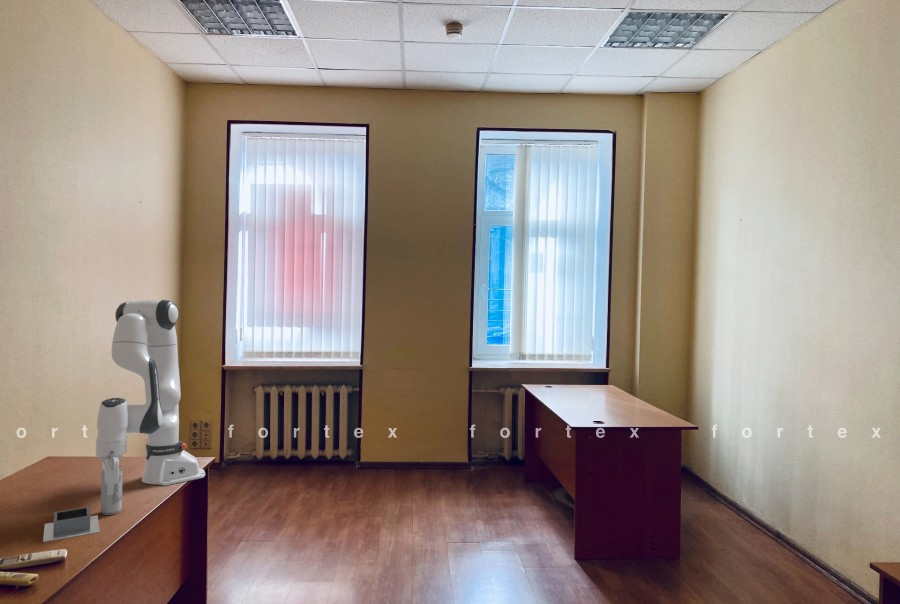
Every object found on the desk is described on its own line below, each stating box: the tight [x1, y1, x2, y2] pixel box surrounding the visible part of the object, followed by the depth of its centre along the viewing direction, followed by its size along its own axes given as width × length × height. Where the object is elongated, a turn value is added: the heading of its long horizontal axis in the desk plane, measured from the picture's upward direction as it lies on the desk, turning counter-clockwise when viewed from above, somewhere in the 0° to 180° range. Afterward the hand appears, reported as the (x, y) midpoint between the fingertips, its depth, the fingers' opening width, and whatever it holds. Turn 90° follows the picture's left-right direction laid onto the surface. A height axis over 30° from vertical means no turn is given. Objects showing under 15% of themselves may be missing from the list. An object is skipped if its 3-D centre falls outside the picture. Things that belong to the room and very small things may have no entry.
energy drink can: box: [100, 465, 123, 516], centre depth 189 cm, size 6×6×15 cm
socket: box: [42, 506, 100, 543], centre depth 175 cm, size 14×14×5 cm
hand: (109, 490), depth 188 cm, fingers open, 8 cm apart
